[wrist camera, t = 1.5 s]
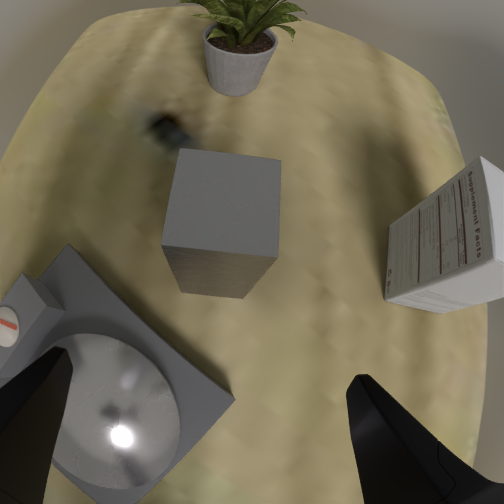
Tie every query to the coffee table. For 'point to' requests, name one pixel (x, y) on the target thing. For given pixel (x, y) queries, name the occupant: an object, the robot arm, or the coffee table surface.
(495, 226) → the supplement box
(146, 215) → the coffee table surface
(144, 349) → the scale base
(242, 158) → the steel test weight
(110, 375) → the scale pan
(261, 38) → the house plant
